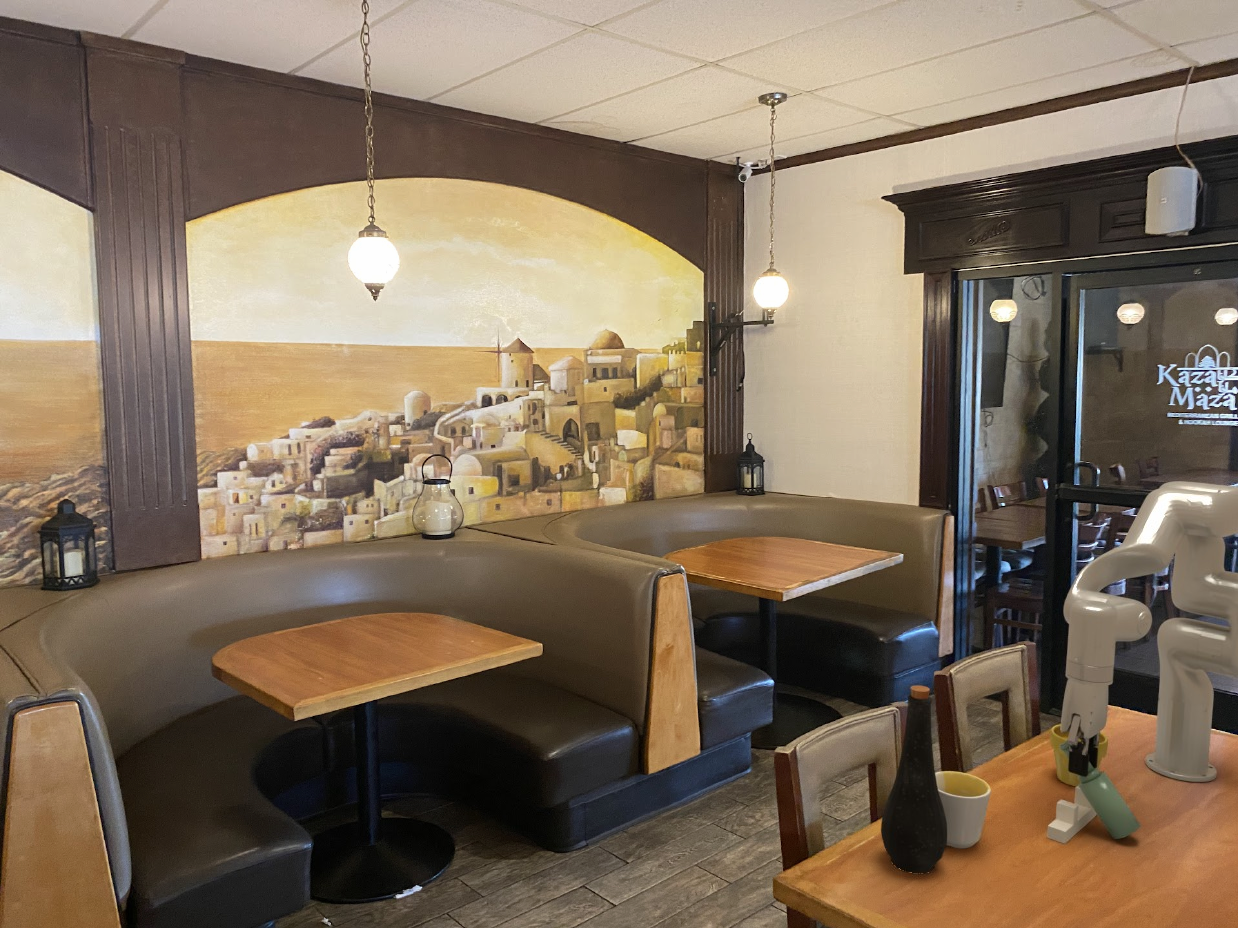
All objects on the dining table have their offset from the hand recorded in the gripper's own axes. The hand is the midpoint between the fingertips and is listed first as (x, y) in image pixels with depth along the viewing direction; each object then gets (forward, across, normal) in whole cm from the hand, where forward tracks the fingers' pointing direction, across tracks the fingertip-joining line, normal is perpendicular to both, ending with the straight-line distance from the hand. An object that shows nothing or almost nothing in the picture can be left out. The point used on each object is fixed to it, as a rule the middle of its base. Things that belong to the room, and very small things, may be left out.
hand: (1082, 769), depth 168 cm
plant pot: (+11, -20, -7) cm, 24 cm away
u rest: (+11, -1, -1) cm, 11 cm away
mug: (+11, +19, -13) cm, 26 cm away
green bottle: (+9, -1, +8) cm, 12 cm away
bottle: (+11, +33, -15) cm, 38 cm away
